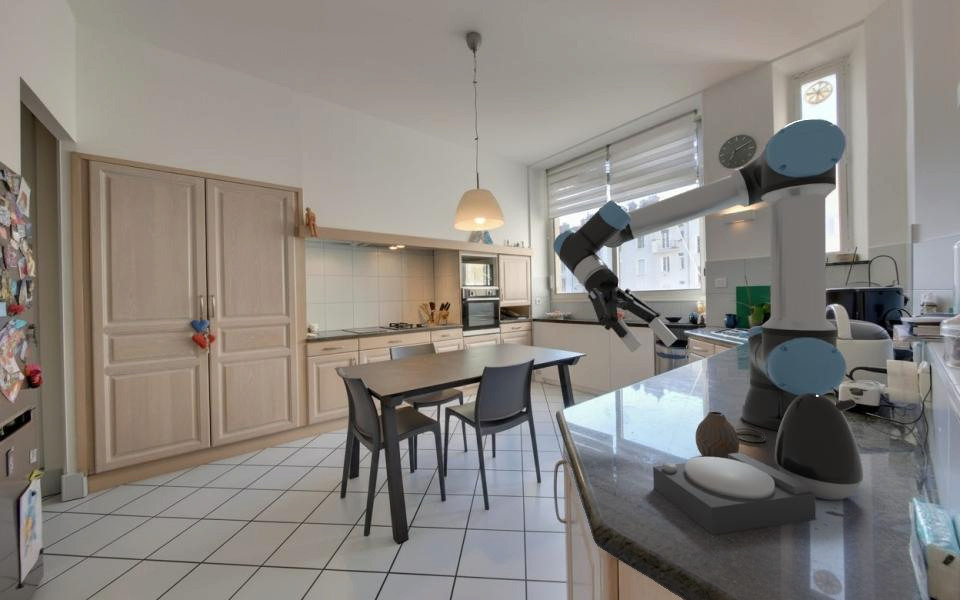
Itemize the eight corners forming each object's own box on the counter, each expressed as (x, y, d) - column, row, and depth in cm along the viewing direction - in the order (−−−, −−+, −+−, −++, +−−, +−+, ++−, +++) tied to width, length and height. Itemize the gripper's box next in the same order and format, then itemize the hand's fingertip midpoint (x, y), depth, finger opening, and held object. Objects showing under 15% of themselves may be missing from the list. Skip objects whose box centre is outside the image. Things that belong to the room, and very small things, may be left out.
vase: (745, 470, 65) (743, 420, 65) (700, 465, 67) (698, 417, 67) (733, 454, 71) (732, 409, 71) (692, 450, 74) (691, 406, 74)
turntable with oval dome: (740, 478, 62) (739, 451, 62) (815, 519, 50) (814, 486, 50) (653, 488, 60) (653, 460, 60) (712, 534, 48) (711, 499, 48)
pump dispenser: (886, 512, 52) (883, 403, 52) (800, 506, 54) (797, 401, 54) (832, 477, 62) (830, 386, 62) (762, 473, 64) (759, 385, 64)
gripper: (618, 289, 100) (674, 351, 88) (552, 289, 86) (608, 362, 74) (635, 268, 96) (697, 330, 83) (570, 264, 82) (632, 338, 69)
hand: (655, 345), depth 79 cm, fingers open, 13 cm apart
